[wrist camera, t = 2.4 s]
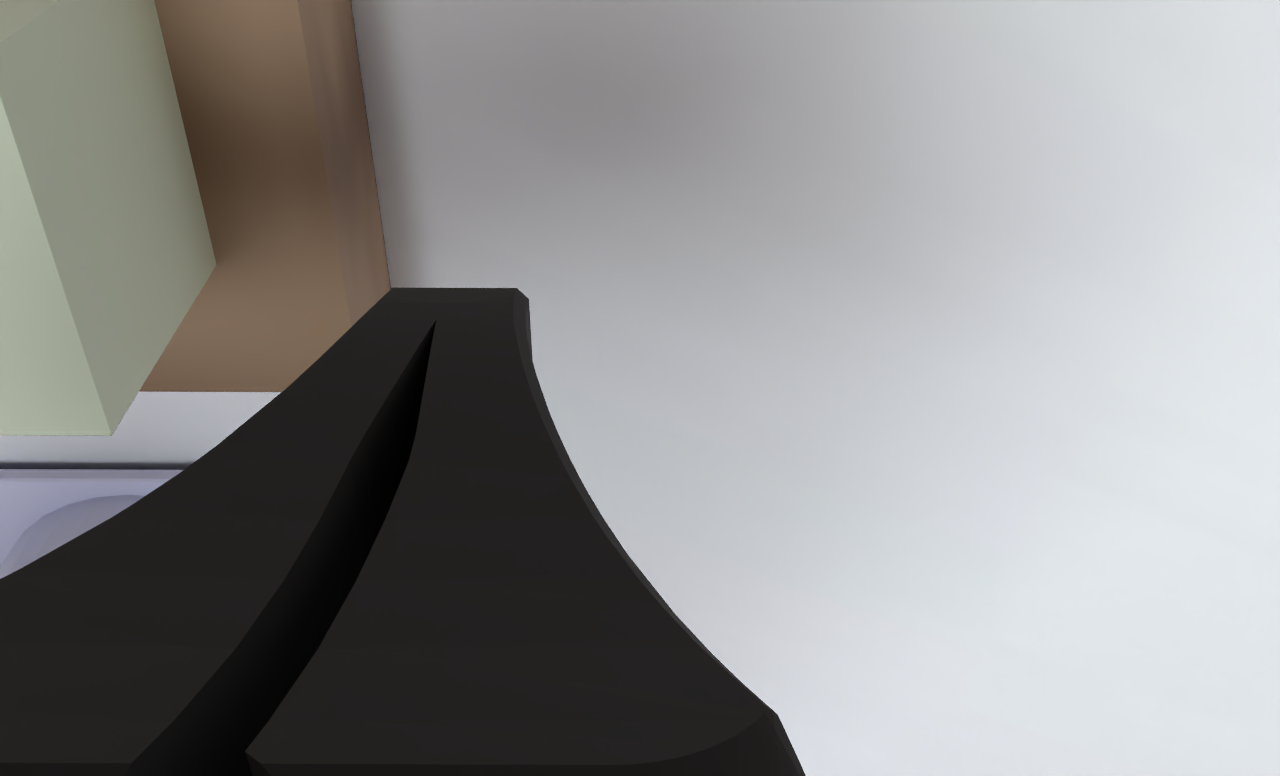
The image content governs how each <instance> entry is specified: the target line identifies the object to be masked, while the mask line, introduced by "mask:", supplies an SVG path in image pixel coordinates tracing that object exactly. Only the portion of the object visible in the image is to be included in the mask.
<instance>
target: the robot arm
mask: <svg viewBox="0 0 1280 776" xmlns="http://www.w3.org/2000/svg"><path fill="white" fill-rule="evenodd" d="M0 776H805V773H804V771H803V769H802V766H801V764H800V762H799V760H798V758H797V755H796V753H795V751H794V749H793V747H792V745H791V742H790V740H789V738H788V736H787V734H786V732H785V729H784V727H783V725H782V723H781V721H780V719H779V717H778V715H777V714H776V713H775V712H774V711H773V710H772V709H771V708H770V707H768V706H767V705H766V704H765V703H764V702H763V701H762V700H761V699H759V698H758V697H757V696H756V695H755V694H754V693H753V692H752V691H750V690H749V689H748V688H747V687H746V686H745V685H744V684H743V683H742V682H741V681H740V680H739V679H737V678H736V677H735V676H734V675H733V674H732V673H731V672H730V671H729V670H728V669H727V668H726V667H725V666H724V665H723V664H722V663H721V662H720V661H719V660H718V659H717V658H716V657H715V656H714V655H713V654H712V653H711V652H710V651H709V650H708V649H707V648H706V647H705V646H704V645H703V644H702V643H701V642H700V640H699V639H698V638H697V637H696V636H695V635H694V634H693V633H692V632H691V631H690V630H689V629H688V628H687V626H686V625H685V624H684V623H683V622H682V621H681V620H680V619H679V618H678V617H677V616H676V615H675V613H674V612H673V611H672V610H671V608H670V607H669V606H668V605H667V603H666V602H665V601H664V600H663V598H662V597H661V596H660V595H659V593H658V592H657V591H656V590H655V588H654V587H653V586H652V585H651V583H650V582H649V581H648V580H647V578H646V577H645V576H644V575H643V573H642V572H641V571H640V570H639V568H638V567H637V566H636V565H635V563H634V562H633V561H632V560H631V558H630V557H629V556H628V554H627V553H626V552H625V550H624V549H623V547H622V546H621V544H620V543H619V541H618V540H617V538H616V537H615V535H614V534H613V532H612V531H611V529H610V528H609V526H608V525H607V523H606V522H605V520H604V519H603V517H602V515H601V514H600V512H599V510H598V509H597V507H596V505H595V504H594V502H593V500H592V499H591V497H590V495H589V494H588V492H587V490H586V488H585V487H584V485H583V483H582V481H581V479H580V477H579V476H578V474H577V472H576V470H575V468H574V466H573V464H572V462H571V460H570V458H569V456H568V454H567V451H566V449H565V447H564V445H563V443H562V441H561V439H560V436H559V434H558V432H557V430H556V427H555V425H554V423H553V420H552V418H551V415H550V413H549V410H548V407H547V405H546V402H545V399H544V396H543V393H542V390H541V387H540V384H539V382H538V379H537V376H536V372H535V369H534V365H533V362H532V346H531V329H530V312H529V299H528V298H527V297H526V296H525V295H524V294H523V293H522V292H520V291H519V290H518V289H517V288H392V289H391V290H390V291H388V292H387V293H386V294H385V295H384V296H383V297H382V298H381V299H380V300H379V301H378V302H377V303H376V304H375V305H374V306H373V307H371V308H370V309H369V310H368V311H367V312H366V313H365V314H364V315H363V316H362V317H361V318H360V319H359V320H358V321H357V322H356V323H355V324H354V325H353V326H352V327H351V328H350V329H349V330H348V331H347V332H346V333H345V334H344V335H342V336H341V337H340V338H339V339H338V340H337V341H336V342H335V343H334V344H333V345H332V346H331V347H330V348H329V349H328V350H327V351H326V352H325V353H324V354H323V355H322V356H321V357H320V358H319V359H318V360H316V361H315V362H314V363H313V364H312V365H311V366H310V367H309V368H308V369H307V370H306V371H304V372H303V373H302V374H301V375H300V376H299V377H298V378H297V379H296V380H295V381H294V382H293V383H291V384H290V385H289V386H288V387H287V388H286V389H285V390H284V391H283V392H282V393H280V394H279V395H278V396H277V397H275V398H274V399H273V400H272V401H271V402H269V403H268V404H267V405H266V406H265V407H263V408H262V409H261V410H260V411H258V412H257V413H256V414H255V415H254V416H252V417H251V418H250V419H249V420H247V421H246V422H245V423H244V424H243V425H241V426H240V427H239V428H238V429H237V430H235V431H234V432H233V433H232V434H230V435H229V436H228V437H227V438H226V439H224V440H223V441H222V442H221V443H220V444H218V445H217V446H216V447H214V448H213V449H212V450H210V451H209V452H208V453H206V454H205V455H204V456H202V457H201V458H200V459H198V460H197V461H196V462H194V463H193V464H191V465H190V466H189V467H187V468H186V469H184V470H83V469H0Z"/></svg>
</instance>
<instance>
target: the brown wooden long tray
mask: <svg viewBox="0 0 1280 776" xmlns="http://www.w3.org/2000/svg"><path fill="white" fill-rule="evenodd" d="M154 2H155V6H156V10H157V14H158V19H159V23H160V27H161V31H162V36H163V40H164V44H165V48H166V53H167V57H168V61H169V65H170V70H171V74H172V78H173V82H174V86H175V91H176V95H177V99H178V103H179V108H180V112H181V116H182V120H183V125H184V129H185V133H186V137H187V142H188V146H189V150H190V154H191V159H192V163H193V167H194V171H195V176H196V180H197V184H198V188H199V193H200V197H201V201H202V205H203V210H204V214H205V218H206V222H207V226H208V231H209V235H210V239H211V243H212V248H213V252H214V256H215V260H216V267H215V268H214V270H213V272H212V273H211V275H210V276H209V278H208V280H207V281H206V283H205V285H204V286H203V288H202V289H201V291H200V293H199V294H198V296H197V298H196V299H195V301H194V302H193V304H192V306H191V307H190V309H189V311H188V312H187V314H186V315H185V317H184V319H183V320H182V322H181V324H180V325H179V327H178V328H177V330H176V332H175V333H174V335H173V337H172V338H171V340H170V341H169V343H168V345H167V346H166V348H165V350H164V351H163V353H162V354H161V356H160V358H159V359H158V361H157V363H156V364H155V366H154V367H153V369H152V371H151V372H150V374H149V376H148V377H147V379H146V380H145V382H144V384H143V385H142V387H141V389H140V390H139V391H163V392H283V391H284V390H285V389H286V388H287V387H288V386H289V385H290V384H291V383H293V382H294V381H295V380H296V379H297V378H298V377H299V376H300V375H301V374H302V373H303V372H304V371H306V370H307V369H308V368H309V367H310V366H311V365H312V364H313V363H314V362H315V361H316V360H318V359H319V358H320V357H321V356H322V355H323V354H324V353H325V352H326V351H327V350H328V349H329V348H330V347H331V346H332V345H333V344H334V343H335V342H336V341H337V340H338V339H339V338H340V337H341V336H342V335H344V334H345V333H346V332H347V331H348V330H349V329H350V328H351V327H352V326H353V325H354V324H355V323H356V322H357V321H358V320H359V319H360V318H361V317H362V316H363V315H364V314H365V313H366V312H367V311H368V310H369V309H370V308H371V307H373V306H374V305H375V304H376V303H377V302H378V301H379V300H380V299H381V298H382V297H383V296H384V295H385V294H386V293H387V292H388V291H390V290H391V289H390V282H389V275H388V267H387V260H386V253H385V246H384V238H383V231H382V224H381V217H380V210H379V202H378V195H377V188H376V181H375V173H374V166H373V159H372V152H371V145H370V137H369V130H368V123H367V116H366V109H365V101H364V94H363V87H362V80H361V72H360V65H359V58H358V51H357V44H356V36H355V29H354V22H353V15H352V8H351V0H154Z"/></svg>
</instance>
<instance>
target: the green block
mask: <svg viewBox="0 0 1280 776" xmlns="http://www.w3.org/2000/svg"><path fill="white" fill-rule="evenodd" d="M215 267H216V260H215V256H214V252H213V248H212V243H211V239H210V235H209V231H208V226H207V222H206V218H205V214H204V210H203V205H202V201H201V197H200V193H199V188H198V184H197V180H196V176H195V171H194V167H193V163H192V159H191V154H190V150H189V146H188V142H187V137H186V133H185V129H184V125H183V120H182V116H181V112H180V108H179V103H178V99H177V95H176V91H175V86H174V82H173V78H172V74H171V70H170V65H169V61H168V57H167V53H166V48H165V44H164V40H163V36H162V31H161V27H160V23H159V19H158V14H157V10H156V6H155V2H154V0H0V435H42V436H112V434H113V433H114V431H115V429H116V428H117V426H118V424H119V423H120V421H121V420H122V418H123V416H124V415H125V413H126V411H127V410H128V408H129V407H130V405H131V403H132V402H133V400H134V398H135V397H136V395H137V394H138V392H139V390H140V389H141V387H142V385H143V384H144V382H145V380H146V379H147V377H148V376H149V374H150V372H151V371H152V369H153V367H154V366H155V364H156V363H157V361H158V359H159V358H160V356H161V354H162V353H163V351H164V350H165V348H166V346H167V345H168V343H169V341H170V340H171V338H172V337H173V335H174V333H175V332H176V330H177V328H178V327H179V325H180V324H181V322H182V320H183V319H184V317H185V315H186V314H187V312H188V311H189V309H190V307H191V306H192V304H193V302H194V301H195V299H196V298H197V296H198V294H199V293H200V291H201V289H202V288H203V286H204V285H205V283H206V281H207V280H208V278H209V276H210V275H211V273H212V272H213V270H214V268H215Z"/></svg>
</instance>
